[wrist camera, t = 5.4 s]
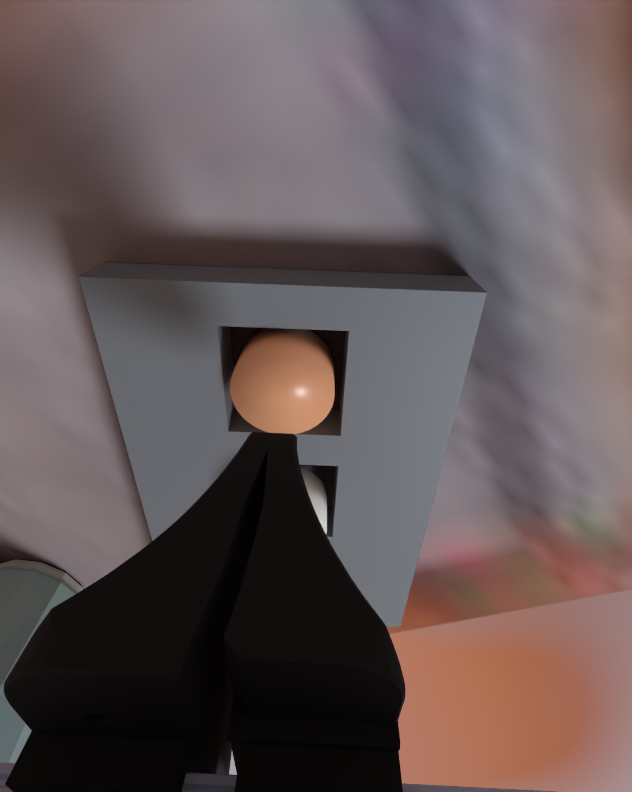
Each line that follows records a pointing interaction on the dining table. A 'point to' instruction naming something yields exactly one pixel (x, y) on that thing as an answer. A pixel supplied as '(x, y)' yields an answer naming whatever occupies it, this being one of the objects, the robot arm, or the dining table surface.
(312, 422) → the terracotta button
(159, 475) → the button panel
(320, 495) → the ivory button
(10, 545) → the dining table surface
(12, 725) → the disposable coffee cup
